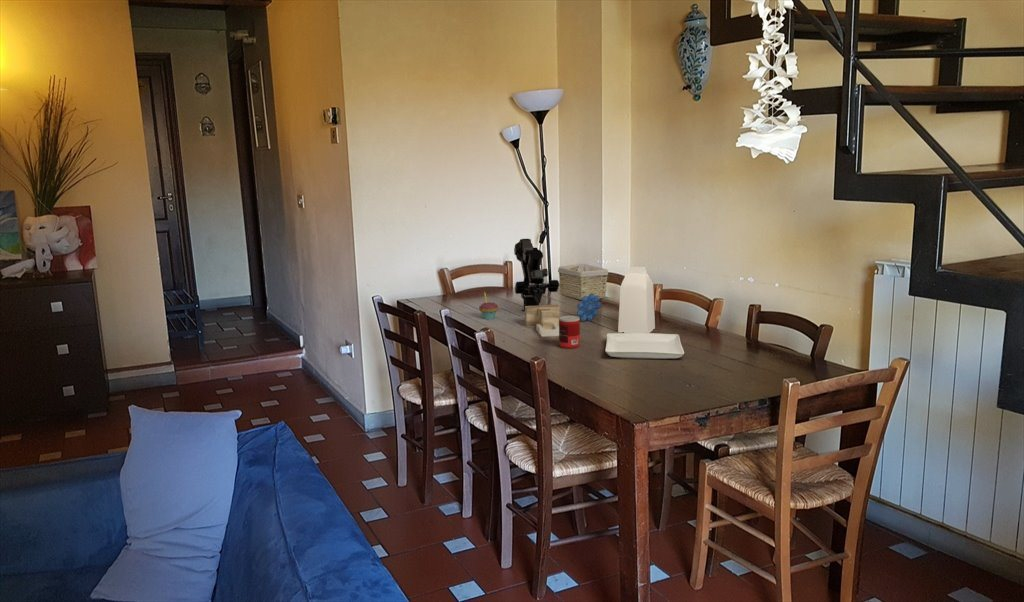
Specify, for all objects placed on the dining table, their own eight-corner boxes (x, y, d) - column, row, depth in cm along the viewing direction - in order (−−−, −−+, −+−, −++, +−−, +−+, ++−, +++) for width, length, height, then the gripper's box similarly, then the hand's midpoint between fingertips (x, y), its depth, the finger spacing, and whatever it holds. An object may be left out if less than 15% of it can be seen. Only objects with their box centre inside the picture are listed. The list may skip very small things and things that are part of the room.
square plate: (605, 361, 265) (605, 350, 264) (606, 341, 291) (606, 332, 290) (684, 362, 261) (684, 351, 260) (678, 342, 287) (678, 332, 287)
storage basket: (557, 294, 388) (556, 265, 385) (584, 291, 395) (584, 263, 392) (581, 302, 367) (580, 272, 364) (609, 298, 374) (609, 269, 371)
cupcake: (476, 319, 334) (475, 292, 332) (484, 315, 342) (483, 289, 339) (494, 320, 331) (493, 293, 328) (501, 316, 338) (501, 290, 336)
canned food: (582, 344, 287) (581, 316, 285) (576, 349, 279) (576, 320, 277) (562, 343, 289) (562, 315, 287) (556, 348, 282) (556, 319, 280)
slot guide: (536, 330, 311) (536, 324, 311) (556, 329, 312) (556, 323, 312) (541, 336, 300) (541, 330, 300) (561, 335, 301) (561, 329, 301)
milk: (618, 332, 304) (618, 268, 299) (626, 326, 315) (626, 263, 310) (647, 334, 299) (648, 269, 294) (655, 328, 310) (655, 265, 305)
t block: (525, 324, 322) (524, 306, 320) (557, 323, 323) (557, 304, 322) (530, 332, 308) (530, 313, 306) (564, 330, 310) (564, 311, 308)
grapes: (596, 317, 332) (595, 290, 329) (603, 320, 326) (603, 293, 323) (572, 320, 327) (572, 293, 325) (579, 323, 321) (579, 295, 319)
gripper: (515, 263, 326) (519, 293, 317) (557, 261, 328) (563, 291, 320) (513, 278, 335) (517, 307, 326) (554, 276, 337) (559, 305, 329)
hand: (539, 302), depth 325 cm, fingers closed
